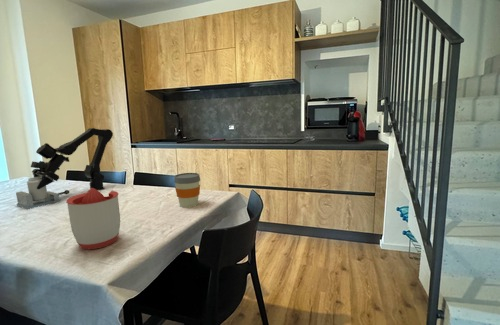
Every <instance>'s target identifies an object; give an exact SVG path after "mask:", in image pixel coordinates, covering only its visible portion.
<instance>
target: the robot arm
mask: <svg viewBox="0 0 500 325" xmlns="http://www.w3.org/2000/svg"><path fill="white" fill-rule="evenodd" d="M113 135H114V133H113V131H112V130H111V129H109V128H108V129H107V128H103V129H99V128H94V127H89V128H87V130H85V131H84V132H83V133H81V134H79V135H78V136H77V137H76V138H74V139H73V140H70V141H68V142H65V143H64V144H62V145H60V146H58V147H52V145H50V144H49V143H47V142H45V143H44V144H42V145H41V146H39V147H38V148H37V150H36V154H37V155H39V156H41V157H42V158H44V159H46V160H47V159H48V161H46V162H45V161H42V160H40V161H34V160H33V161H31V164H30V168H32V171H31V173H32V175H33V177H42V180H41V182H40V183H39V185H38V186H37V189H40V188H42V187H44V186H46V187H47V186H48V185H50V184H53V183H54V182H55V181H56V182H58V181H59V179H60V176H59V175H58V174H56V172H57V171H60V167H61V166H62V165H63V163H65V162H68V163H70V159H69V156H72V155H73V154H74V153H75V152H76V151H77V149H78V147H80V146H81V145H83V143H85V142H87V141H88V140H90V138H92V137H93V136H97V141H98V143H97V145H96V148H95V150H94V153H93V156H92V160H91V162H90V163H89V164H86V165H85V169H84V170H83V172H84V176H85V177H87V179H88V180H89V183H88V184H89V190H90V189H91V188H94V189H96V190H98V191H99V190H104V189H105V187H104V181H103V180H104V179H105V176H104V175H103V174H102V173H101V167H100V166H101V162H102V159H103V156H104V152H105V150H106V147H107V145H108V143H109V142H110V141H111V139H112V138H113Z"/></svg>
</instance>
